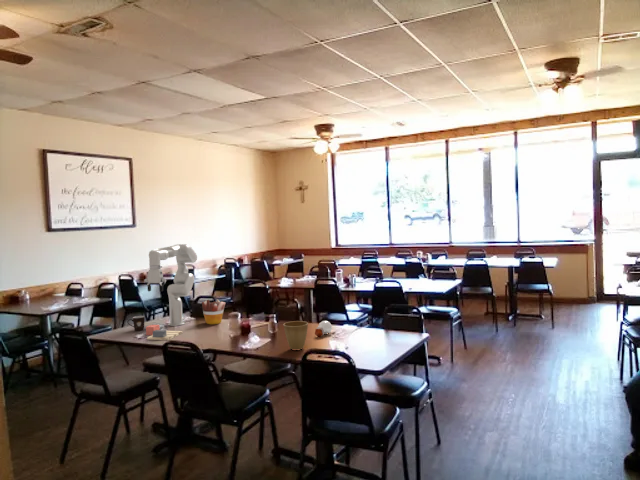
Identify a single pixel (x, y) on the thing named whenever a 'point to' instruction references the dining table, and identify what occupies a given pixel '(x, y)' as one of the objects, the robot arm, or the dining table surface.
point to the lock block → (152, 329)
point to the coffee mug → (138, 323)
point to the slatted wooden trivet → (169, 335)
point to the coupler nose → (159, 333)
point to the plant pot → (296, 333)
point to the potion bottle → (323, 328)
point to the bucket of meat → (213, 311)
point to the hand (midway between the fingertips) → (155, 291)
